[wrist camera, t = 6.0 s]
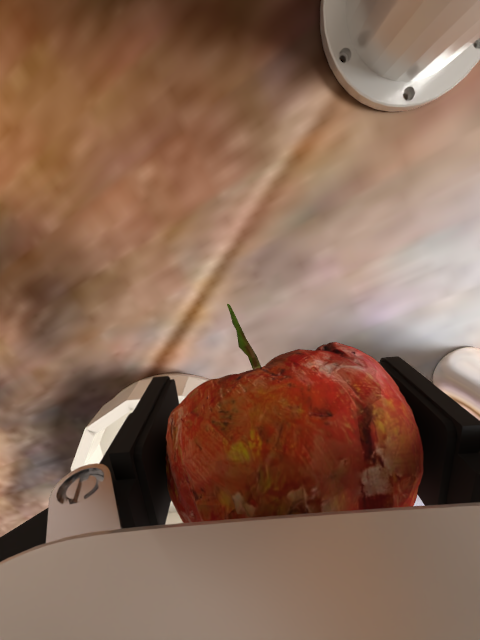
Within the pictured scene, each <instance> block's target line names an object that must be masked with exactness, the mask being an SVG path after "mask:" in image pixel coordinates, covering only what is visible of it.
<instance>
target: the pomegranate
mask: <svg viewBox="0 0 480 640" xmlns="http://www.w3.org/2000/svg"><path fill="white" fill-rule="evenodd" d="M227 306H228V308H229V311H230V314H231V318H232V323H233V325H234V327H235V328H236V330H237V337H238V344H239V347H240V348H241V349H242V350H243V352H244V353H245V354H246V355H247V356H248V358H249V360H250V363H251V365H252V368H253V370H250V371H246V372H243V373H240V374H233V375H228V376H225V377H222V378H219V379H211V380H208V381H206V382H204V383H202V384H201V385H199V386H198V387H196V388H195V389H194V390H192V391H191V392H190V393H189V394H188V395H187V396H186V397H185V399H184V400H183V401H182V402H181V403H180V404H179V405H178V406H177V407H176V408H175V409H173V410H172V412H171V414H170V416H169V418H168V426H167V434H166V441H167V446H166V458H165V459H166V474H167V484H168V491H169V495H170V498H171V501H172V503H173V505H174V507H175V509H176V511H177V512H178V514H179V516H180V518H181V520H182V521H183V523H190V522H203V521H216V520H229V519H242V518H255V517H268V516H282V515H296V514H310V513H324V512H338V511H353V510H367V509H382V508H397V507H413V505H414V503H415V501H416V498H417V492H418V486H419V484H420V482H421V478H422V475H423V447H422V441H421V437H420V433H419V429H418V426H417V424H416V422H415V418H414V415H413V412H412V409H411V408H410V406H409V405H408V403H407V402H406V400H405V397H404V396H403V395H402V393H401V392H400V391H399V387H398V386H397V384H396V383H395V381H394V380H393V379H392V377H391V376H390V375H389V374H388V373H387V372H386V371H385V370H384V368H383V367H382V366H381V365H380V364H379V363H378V362H377V361H376V360H375V359H373V358H372V357H371V356H369V355H367V354H365V353H363V352H362V351H360V350H358V349H355V348H353V347H350V346H347V345H344V344H340V343H337V342H332V343H329V344H327V345H322V346H320V347H318V348H317V349H316V350H315V351H312V350H300V349H298V350H295V351H291V352H288V353H285V354H281V355H279V356H277V357H275V358H273V359H272V360H271V361H270V362H269V363H267V364H266V366H264V367H261V366H260V363H259V361H258V358H257V356H256V354H255V353H254V351H253V349H252V348H251V346H250V344H249V343H248V341H247V339H246V338H245V335H244V333H243V331H242V329H241V327H240V325H239V323H238V321H237V318H236V316H235V314H234V312H233V310H232V308H231V306H230V305H229V304H227Z"/></svg>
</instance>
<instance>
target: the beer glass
mask: <svg viewBox="0 0 480 640" xmlns="http://www.w3.org/2000/svg"><path fill="white" fill-rule="evenodd" d="M433 384H434V385H435V386H437V387H438V388H439V389H440V390H442V391H443V392H444V393H445V394H447V395H448V396H449V397H450V398H452V399H453V400H454V401H456V402H457V403H458V404H459V405H461V406H462V407H463V408H464V409H466V410H467V411H468V412H470V413H471V414H472V415H473V416H475V417H476V418H477V419H478V420H480V349H479V348H475V347H464V348H459V349H456V350H454V351H452V352H450V353H449V354H447V355H446V356H445V357H443V358H442V359H441V360H440V362H439V363H438V364H437V366H436V368H435V370H434V373H433Z"/></svg>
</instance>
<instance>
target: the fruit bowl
mask: <svg viewBox="0 0 480 640" xmlns="http://www.w3.org/2000/svg"><path fill="white" fill-rule="evenodd" d="M160 376H169V377H170V379H174V380H175V383H176V389H177V394H178V400H179V404H180V403H181V402H182V401H183V400H184V399H185V397H186V396H187V395H188V394H189V393H190V392H191V391H192V390H194V389H195V388H196V387H198V386H199V385H201V384H202V383H204V382H206V381H208V380H210V379H207V378H204V377H200V376H196V375H191V374H181V373H171V374H161V375H155V376H151V377H147V378H144V379H142V380H139V381H137V382H135V383H133V384H131V385H129V386H128V387H126V388H124V389H123V390H122V391H121V392H119V393H118V394H117V395H116V396H115V397H114V398H113V399H112V400H111V401H109V402H108V403H106V404H105V405H103V406H102V408H101V409H100V410H99V412H98V413H97V414H96V415H95V417H94V418H93V419H92V420H91V422H90V423H89V424H88V425H87V427H86V428H85V430H84V433H83V436H82V438H81V441H80V444H79V447H78V450H77V452H76V455H75V458H74V461H73V463H72V466H71V471H74V470H75V469H77V468H79V467H82V466H85V465H88V464H95V463H98V464H99V463H100V461H101V460H102V458H103V456H104V455H105V453H106V451H107V450H108V448H109V446H110V445H111V443H112V441H113V440H114V438H115V436H116V435H117V433H118V431H119V430H120V428H121V426H122V425H123V423H124V421H125V420H126V418H127V416H128V415H129V414H130V413H133V411H134V409H135V407H136V406H137V404H138V402H139V401H140V399H141V397H142V396H143V394H144V392H145V390H146V389H147V387H148V385H149V384H150V382H151V380H152V379H153V377H160ZM177 523H183V521H182V520H181V518H180V516H179V514H178V512H177V511H176V509H175V507H174V505H173V503H172V501H171V503H170V507H169V511H168V515H167V519H166V523H165V525H166V524H177Z"/></svg>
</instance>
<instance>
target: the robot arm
mask: <svg viewBox="0 0 480 640" xmlns="http://www.w3.org/2000/svg"><path fill="white" fill-rule="evenodd" d="M320 31H321V37H322V43H323V49H324V52H325V54H326V57H327V60H328V63H329V66H330V68H331V70H332V71H333V73H334V75H335V77H336V78H337V80H338V82H339V83H340V84H341V85H342V86H343V88H344V89H345V90H346V91H347V92H348V93H349V94H350V95H351V96H353V97H354V98H355V99H357V100H358V101H359V102H361V103H362V104H365V105H367V106H369V107H372V108H374V109H378V110H383V111H389V112H395V111H407V110H411V109H415V108H419V107H422V106H424V105H426V104H428V103H430V102H432V101H434V100H436V99H437V98H439V97H440V96H442V95H443V94H445V93H446V92H448V91H449V90H451V89H452V88H453V87H454V86H455V85H456V84H458V83H459V82H460V81H461V80H462V79H463V78H465V77H466V75H467V74H468V73H469V72H470V71H471V70H472V68H473V67H474V66H475V65H476V64H477V62H478V61H479V60H480V0H321V5H320ZM340 59H342V60H343V61H344V63H343V62H341V61H340ZM403 96H404V97H405V99H404V98H403ZM378 363H379V364H380V365H381V366H382V367H383V368H384V370H385V371H386V372H387V373H388V374H389V375H390V376H391V377H392V379H393V380H394V381H395V383H396V384H397V386H398V387H399V391H400V392H401V393H402V395H403V396H404V397H405V400H406V402H407V403H408V405H409V406H410V408H411V409H412V412H413V415H414V418H415V422H416V424H417V426H418V429H419V433H420V437H421V441H422V447H423V475H422V478H421V482H420V484H419V486H418V492H417V494H418V496H419V497H420V499H421V500H422V502H423V503H424V505H425V506H413V507H397V508H382V509H367V510H353V511H338V512H324V513H310V514H296V515H282V516H268V517H255V518H242V519H229V520H216V521H203V522H190V523H177V524H166V525H165V523H166V519H167V515H168V511H169V507H170V503H171V498H170V495H169V491H168V484H167V474H166V459H165V458H166V446H167V441H166V434H167V426H168V418H169V416H170V414H171V412H172V410H173V409H175V408H176V407H177V406H178V405H179V400H178V394H177V389H176V383H175V380H174V379H170V377H169V376H160V377H153V379H152V380H151V382H150V384H149V385H148V387H147V389H146V390H145V392H144V394H143V396H142V397H141V399H140V401H139V402H138V404H137V406H136V407H135V409H134V411H133V413H130V414H129V415H128V416H127V418H126V420H125V421H124V423H123V425H122V426H121V428H120V430H119V431H118V433H117V435H116V436H115V438H114V440H113V441H112V443H111V445H110V446H109V448H108V450H107V451H106V453H105V455H104V456H103V458H102V460H101V461H100V463H99V464H98V463H95V464H88V465H85V466H82V467H79V468H77V469H75V470H74V471H72V472H70V473H69V474H67V475H66V476H65V477H63V478H62V479H61V480H60V481H59V482H58V483H57V484H56V486H55V487H54V489H53V490H52V492H51V495H50V498H49V508H47V509H46V510H44V511H42V512H41V513H39V514H37V515H36V516H34V517H33V518H31V519H29V520H28V521H26V522H25V523H23V524H21V525H20V526H18V527H17V528H15V529H13V530H12V531H10V532H8V533H7V534H5V535H4V536H2V537H0V640H480V420H478V419H477V418H476V417H475V416H473V415H472V414H471V413H470V412H468V411H467V410H466V409H464V408H463V407H462V406H461V405H459V404H458V403H457V402H456V401H454V400H453V399H452V398H450V397H449V396H448V395H447V394H445V393H444V392H443V391H442V390H440V389H439V388H438V387H437V386H435V385H434V384H433V383H431V382H430V381H429V380H428V379H426V378H425V377H424V376H423V375H421V374H420V373H419V372H418V371H416V370H415V369H414V368H412V367H411V366H410V365H409V364H407V363H406V362H405V361H404V360H402V359H401V358H400V357H386V358H381V360H380V362H378Z"/></svg>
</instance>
